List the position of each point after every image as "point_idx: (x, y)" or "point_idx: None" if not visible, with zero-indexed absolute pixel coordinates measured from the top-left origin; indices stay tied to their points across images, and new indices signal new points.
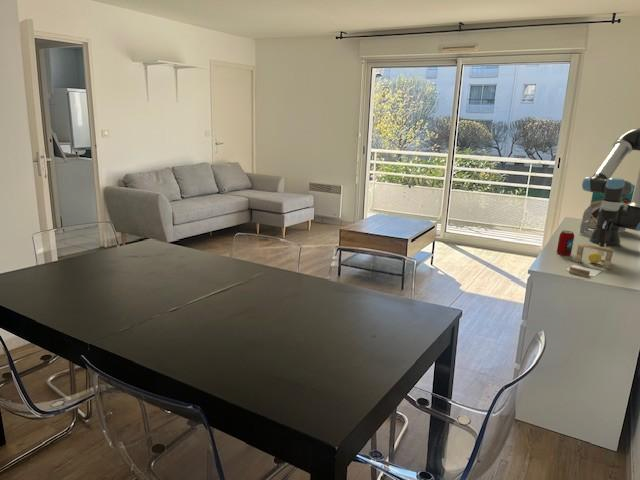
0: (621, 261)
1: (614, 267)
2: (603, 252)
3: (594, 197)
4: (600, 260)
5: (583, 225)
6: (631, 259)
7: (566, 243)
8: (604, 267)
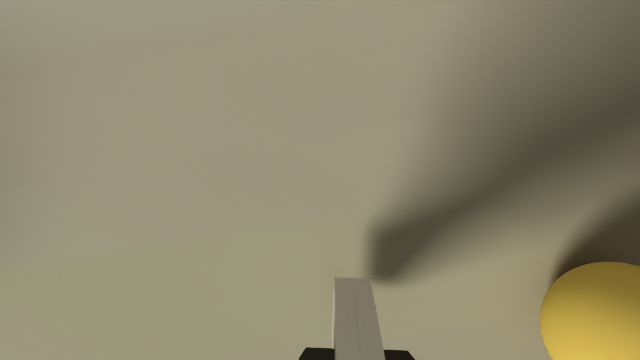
0: (248, 85)
1: (616, 97)
2: (375, 310)
3: None
4: (624, 263)
5: None
6: (24, 4)
7: None
8: None
